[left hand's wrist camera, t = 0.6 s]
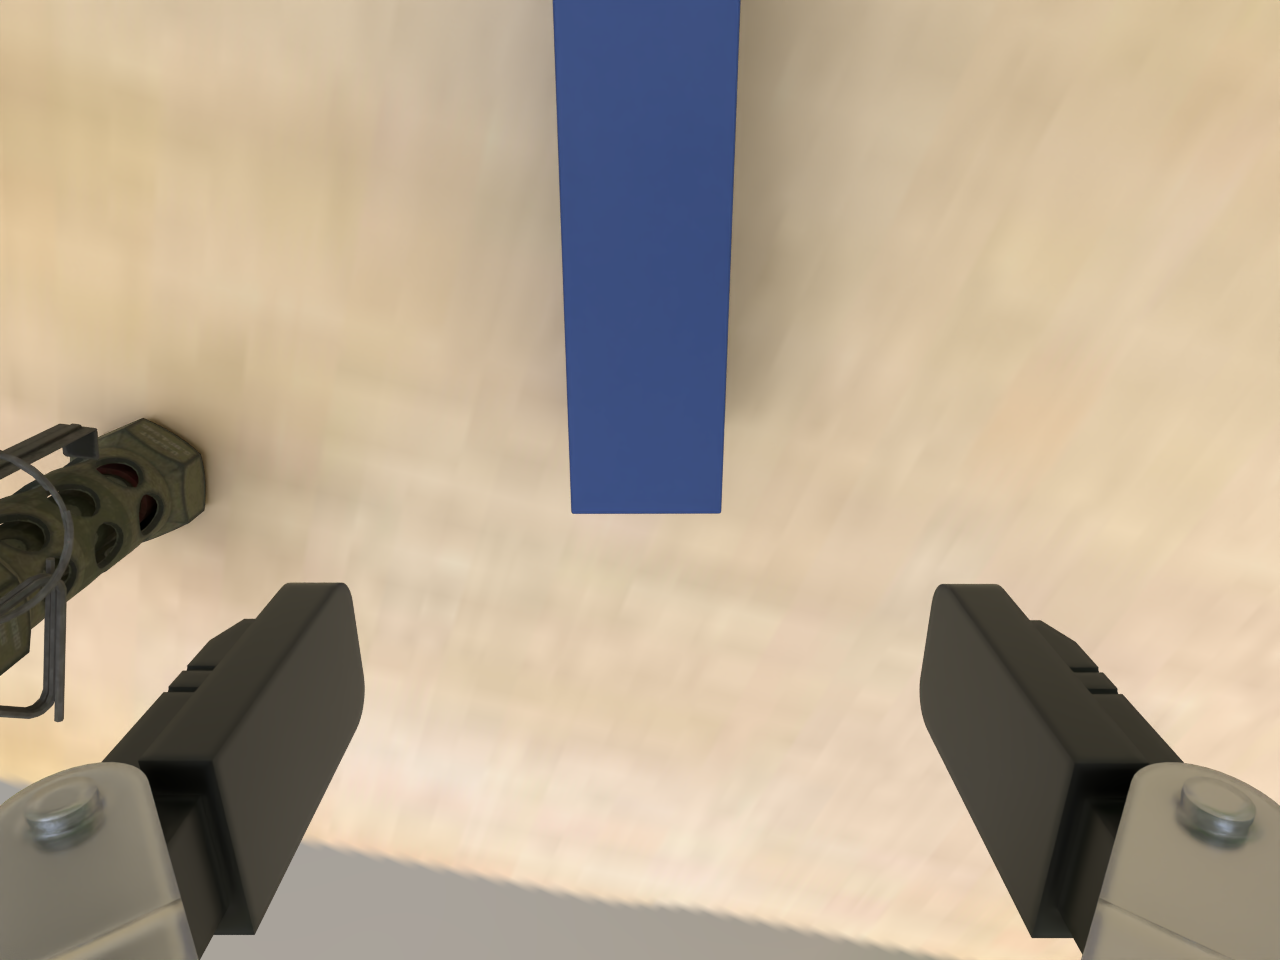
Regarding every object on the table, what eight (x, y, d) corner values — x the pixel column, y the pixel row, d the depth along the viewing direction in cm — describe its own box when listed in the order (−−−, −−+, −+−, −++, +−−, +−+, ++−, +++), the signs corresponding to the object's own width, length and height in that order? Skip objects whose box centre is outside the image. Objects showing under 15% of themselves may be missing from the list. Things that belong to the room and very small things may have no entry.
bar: (702, 429, 33) (721, 514, 25) (587, 429, 33) (571, 514, 25) (726, -453, 23) (769, -762, 16) (563, -452, 23) (524, -761, 16)
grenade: (244, 556, 35) (-15, 818, 21) (107, 539, 35) (-249, 794, 21) (235, 357, 32) (-79, 512, 18) (83, 337, 32) (-356, 478, 18)
